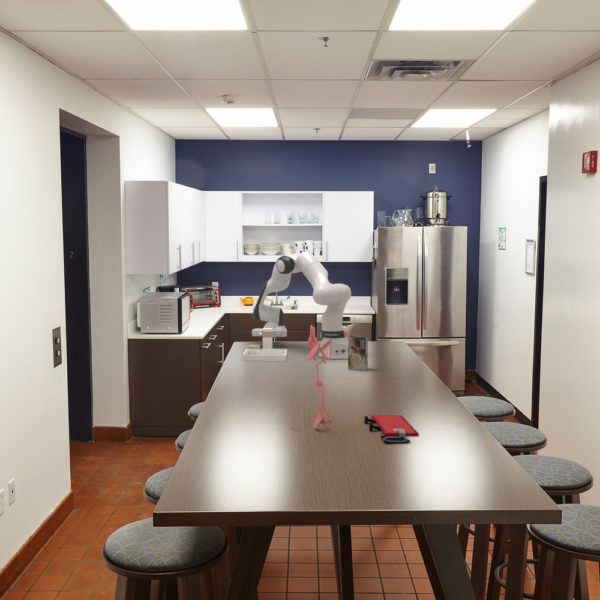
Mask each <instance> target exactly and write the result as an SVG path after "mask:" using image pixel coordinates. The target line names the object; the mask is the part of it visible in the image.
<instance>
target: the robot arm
mask: <svg viewBox="0 0 600 600" xmlns="http://www.w3.org/2000/svg"><path fill="white" fill-rule="evenodd" d="M300 272H302V274H303V275H304V276H305V278H306V279H307V281H308V282H309V283H310V284H311V287H312V288H313V291H312V299H313V301H314V303H316V304H317V305H320V306H326V308H325V311H324V312H323V313H322V316H321V329H320V347H322V346H323V345H324V344H325V343H326V342H327V341H329V340H330V339H331V340H332V341H331V360H342V359H343V360H346V359H347V360H348V337H347V335H348V332H347V331H345V330H343V317H344V311H345V309H346V305H347V304H348V302H349V300H350V299H351V297H352V291H351V288H350V287H349V285H346V284H344V283H331V282H330V281H329V279H328V278H329V272H328V271H327V269H326V268H325V267H324V266H323V264H322V263H321V262H320V261H319V259H318V258H317V257H316V256H315V255H314V254H313V253H311V252H310V251H308V250H306V251H301V252H297V253H289V254H286V255H281V256H280V257H278V258H277V260H276V261H275V264H274V266H273V269H272V272H271V273H272V274H271V277H270V279H269V280H265V282H264V284H263V286H262V288H261V291H260V293H259V296H258V297H257V298H258V299H257V300H256V303H255V305H254V307H253V308H252V313H251V314H252V317H253V319H254V320H255V321H263V322H266V323H265V324H264V326H263V328H272V331H273V336H272V339H277V338H287V336H288V329H287V328H286V326H285V325H282V324H283V320H284V311H283V309H282V308H281V307H278V306H272V305H268V304H265V300H266V298H267V295H269V294H271V293H277V292H282V291H285V290H286V289H287V288H288V287H289V285H290V284H291V283H290V282H291V278H292V274H296V273H297V274H298V273H300ZM263 328H260V327H259V328H253V329H252V330H251V335H252V337H263ZM323 352H324V354H325V355H326V357H328V358H329V356H330V344H329V346H328V347H327V348H326V349H324V350H323ZM318 357H320V358H323V357H322V354H321V353H319V352H318ZM324 358H325V357H324Z"/></svg>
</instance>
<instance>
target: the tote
mask: <svg viewBox="0 0 600 600" xmlns="http://www.w3.org/2000/svg"><path fill="white" fill-rule="evenodd" d="M287 357H288V349H287V348H272V349H263V348H259V355H248V348H245V350H244V351H243V354H242V361H243V362H287Z"/></svg>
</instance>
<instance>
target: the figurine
mask: <svg viewBox="0 0 600 600" xmlns="http://www.w3.org/2000/svg"><path fill="white" fill-rule="evenodd" d="M309 329H310V330H309V331H310V333H309V336H308V343H307V344H308V347H309V348H310V352H309V353H308V355H307V360H306V361H307V362H309V361H310V360H311V359H312V360H313V362H316V353H317V352H318V354H319V353H321V354H322V357H321V358H322V360H321V361H319V362H317V363H316V365H315V368H316V380H315V382H314V385H315V386H316V388H318V389H319V391H320V392H321V394H322V401H321V405H320V410H319V411H318V413H317V414H316V416H315V417H314V419H315V420H314V423H313V430H315V429H316V428H317V427H318V426H319V425H320V424H321V422H322V420H323V422H324V424H325V425H326V427H327V429H328V430H329V429H330V426H329V424H328V422H327V420H326V418H325V417H324V411H325V413H326V416H327V418H328V419H329V422H332V419H331V416H333V417H335V416H336V415H334V414H330V415H329V413H328V411H327V408H326V403H325V404H324V402H325V386H324V384H323V383H324V382H323V381H322V379H319V369H318V368H319V367H318V366H319V365H320V364H322V363H323V362H324V364H325V365H326V364H327V361H332V359H331V341H332V340H331V339H330V340H329V341H327V342H326V343H325V344H324V345H323V346H322V347H320V346H321V342H318V339H317V337H316V327H315V326H313V324H310V328H309ZM329 344H330V356H329V358H328V357H326V355H325V354H324V352H323V350H324V349H326V348H327V347H328V346H329ZM318 350H319V351H318ZM324 357H325V358H324ZM321 387H322V388H323V389H322V388H321ZM295 420H297V419H294V421H295ZM293 430H294V431H296V432H299V433H300V432H301V430H297V429H295V428H293Z"/></svg>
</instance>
